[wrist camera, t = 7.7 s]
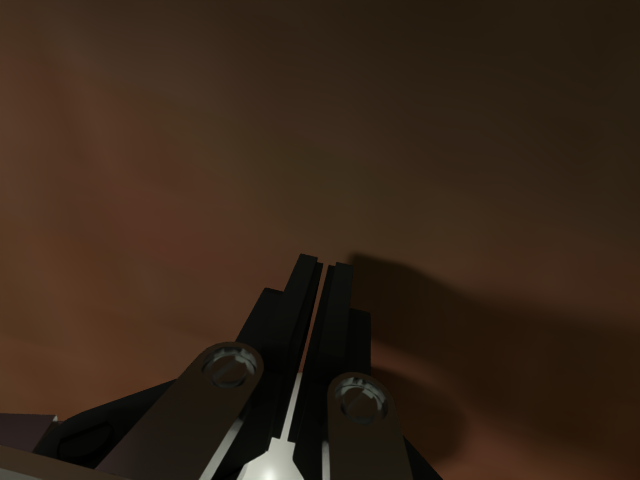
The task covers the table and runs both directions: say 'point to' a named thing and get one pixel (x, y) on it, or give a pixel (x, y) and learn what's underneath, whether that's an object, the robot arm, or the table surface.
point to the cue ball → (277, 452)
